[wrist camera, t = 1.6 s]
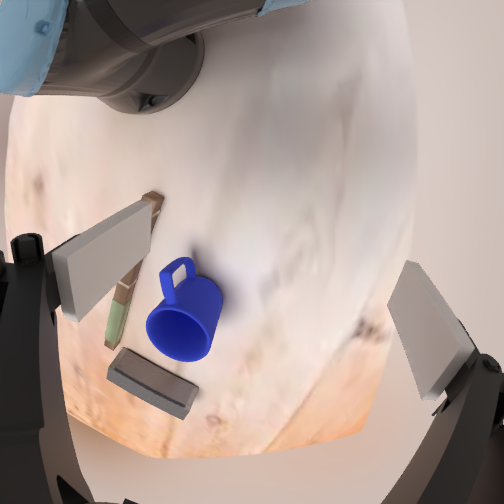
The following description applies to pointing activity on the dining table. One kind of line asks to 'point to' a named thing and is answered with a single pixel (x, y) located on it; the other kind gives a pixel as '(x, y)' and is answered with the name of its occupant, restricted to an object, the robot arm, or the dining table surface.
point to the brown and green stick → (127, 286)
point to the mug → (185, 314)
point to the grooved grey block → (152, 384)
